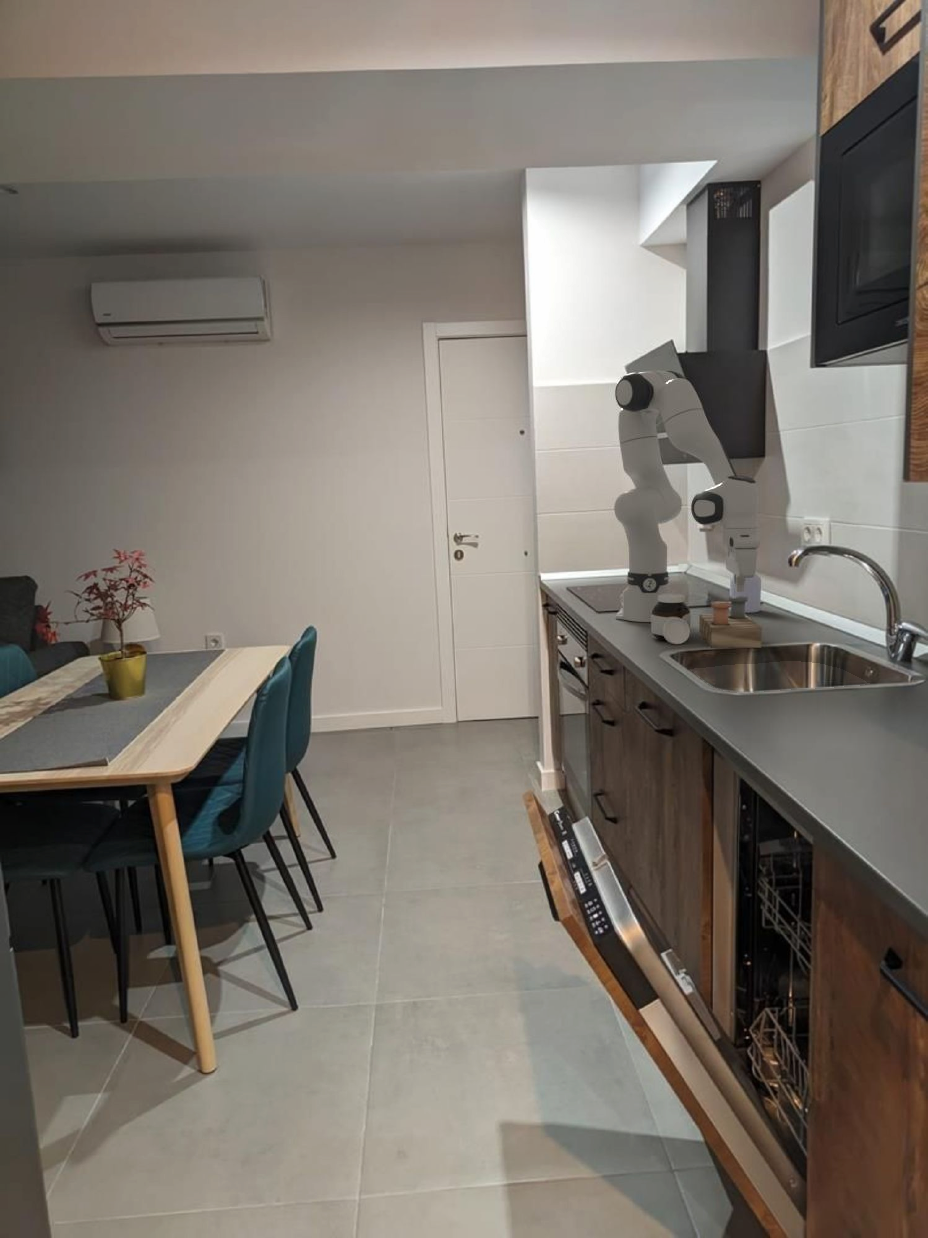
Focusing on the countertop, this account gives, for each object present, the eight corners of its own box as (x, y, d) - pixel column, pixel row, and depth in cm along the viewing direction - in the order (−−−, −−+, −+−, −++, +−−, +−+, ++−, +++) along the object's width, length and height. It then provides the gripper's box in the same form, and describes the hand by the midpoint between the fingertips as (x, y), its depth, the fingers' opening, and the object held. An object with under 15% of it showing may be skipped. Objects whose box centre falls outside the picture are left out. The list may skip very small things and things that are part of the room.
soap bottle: (728, 608, 268) (731, 530, 264) (759, 608, 266) (761, 530, 261) (729, 612, 260) (732, 532, 255) (761, 613, 257) (764, 532, 253)
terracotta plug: (709, 627, 219) (709, 601, 218) (728, 627, 219) (728, 601, 217) (712, 631, 215) (713, 604, 213) (731, 631, 214) (732, 604, 213)
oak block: (699, 632, 232) (699, 614, 231) (744, 631, 230) (744, 613, 229) (711, 647, 212) (712, 628, 211) (761, 647, 211) (761, 627, 210)
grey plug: (726, 621, 227) (727, 595, 226) (744, 621, 227) (745, 595, 226) (729, 624, 223) (730, 598, 221) (748, 624, 222) (749, 598, 221)
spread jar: (672, 634, 230) (673, 592, 228) (705, 640, 221) (706, 596, 219) (641, 640, 223) (641, 596, 221) (673, 647, 214) (674, 601, 212)
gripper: (720, 535, 231) (719, 585, 234) (735, 542, 211) (734, 596, 214) (744, 535, 230) (743, 585, 233) (761, 541, 210) (760, 596, 213)
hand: (739, 591), depth 223 cm, fingers closed
